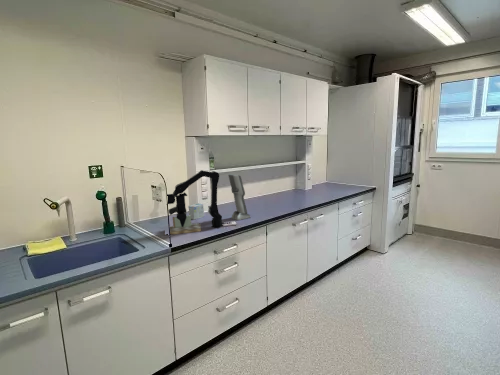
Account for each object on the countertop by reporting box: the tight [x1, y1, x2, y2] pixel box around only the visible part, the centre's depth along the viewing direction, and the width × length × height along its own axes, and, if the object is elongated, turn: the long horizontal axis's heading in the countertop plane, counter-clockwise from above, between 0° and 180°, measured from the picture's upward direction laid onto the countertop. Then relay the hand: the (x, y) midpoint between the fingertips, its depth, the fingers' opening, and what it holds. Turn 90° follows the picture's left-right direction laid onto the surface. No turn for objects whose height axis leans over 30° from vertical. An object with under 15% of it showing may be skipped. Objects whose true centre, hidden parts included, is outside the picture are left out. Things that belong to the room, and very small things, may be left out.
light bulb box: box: [187, 203, 205, 220], centre depth 218 cm, size 11×7×11 cm, turn 141°
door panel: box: [172, 214, 192, 228], centre depth 184 cm, size 12×2×9 cm, turn 104°
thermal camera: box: [228, 174, 251, 221], centre depth 210 cm, size 12×13×35 cm
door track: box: [169, 222, 202, 235], centre depth 184 cm, size 24×9×4 cm, turn 104°
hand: (182, 224), depth 184 cm, fingers open, 9 cm apart
